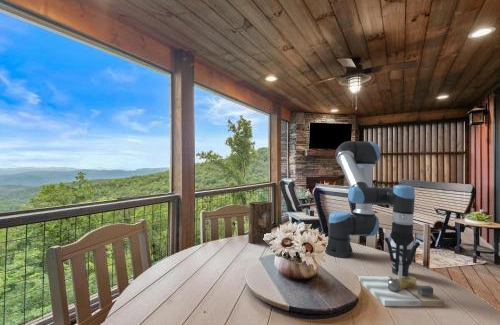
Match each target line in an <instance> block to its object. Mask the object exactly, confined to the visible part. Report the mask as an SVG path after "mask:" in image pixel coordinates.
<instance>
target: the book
mask: <svg viewBox="0 0 500 325" xmlns="http://www.w3.org/2000/svg"><path fill="white" fill-rule="evenodd" d="M248 203H249V204H248V206H249V207H248V208H249V211H248V214H249V215H248V236H247V238H248V239H247V241H248V243H249V244H252V245H256V244H260V243H264V242H265V241H264V240H263V238H264V234H266V233H271V232H272V228H273V227H272V225H273V202H272V201H269V202H268V201H266V200H265V201H254V202H248ZM271 234H272V233H271Z"/></svg>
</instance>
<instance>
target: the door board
mask: <svg viewBox="0 0 500 325" xmlns="http://www.w3.org/2000/svg"><path fill="white" fill-rule="evenodd" d="M403 277H404V276H402V278H403ZM388 279H395V280H396V279H398V276H377V275H376V276H375V275H373V276H371V275H370V276H369V275H368V276H366V275H364V276H363V275H362V276H359V275H358V282H359V283H360V284H361V285H362V286H363V287H364V288H366V290H367V291H368V292H370V294H372V296H374V297H375V298H376V299H377V300H378V301H379V302H380V303H381V304H382V305H383V306H384V307H445V306H444V304H445V301H444V300H443V299H442V298H440V297H439V296H437V295H436V294H434V287H432V286H431V285H421V284H419V283H418V282H416V285H414V286H411V287H408V288H405V289H402V290H400V291H399V292H394V291H391V290H389V289H388Z"/></svg>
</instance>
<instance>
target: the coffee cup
mask: <svg viewBox="0 0 500 325" xmlns="http://www.w3.org/2000/svg"><path fill="white" fill-rule="evenodd" d="M390 243H391V247H392V252H393V256H394V258H395V259H396V244H395V242H394V241H393V240H392V239H391V241H390ZM412 247H413V244H412V242H411V243H410V244H409V245H408V246H407V255H406V261H407V260H408V258H409V255H410V252H411V249H412ZM402 257H403V246H402V245H400V253H399V263H402ZM390 261H391V260H390ZM409 268H410V265H406V270H405V273H402V277H406V276H409V270H410V269H409ZM391 272H392V274H394V275H396V276H398V272H397V271H396V270H395V262H392V261H391Z"/></svg>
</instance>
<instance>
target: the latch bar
mask: <svg viewBox="0 0 500 325" xmlns="http://www.w3.org/2000/svg"><path fill="white" fill-rule="evenodd" d="M402 277H403V278H400V279H396V280H395V279H388V289H389V290H391V291H394V292H399V291H400V290H402V289H405V288H408V287H411V286H414V285H416V283H417V278H416V277H414V276H411V275H408V276H402Z"/></svg>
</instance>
